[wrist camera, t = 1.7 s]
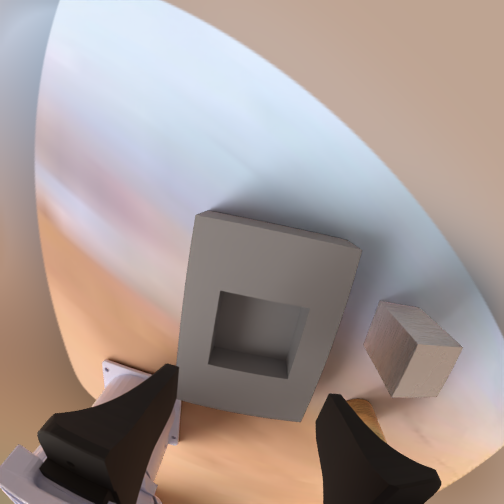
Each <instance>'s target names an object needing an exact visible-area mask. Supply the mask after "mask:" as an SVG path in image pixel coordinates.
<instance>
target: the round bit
mask: <svg viewBox="0 0 504 504" xmlns="http://www.w3.org/2000/svg"><path fill="white" fill-rule="evenodd" d="M346 402H347V403H348V404H349V405H350V406H351V408H352V409H353V410H354V411H355V412H356V414H357V415H358V416H359V417H360V418H361V419H362V421H363V422H364V423H365V424H366V425H367V426H368V427H369V428H370V429H371V430H372V431H373V432H374V433H375V434H376V435H377V436H378V437H379V438H380V439H382V440H383V441H384V442H385V443H387V442H386V440H385V437H384V435H383V432H382V430H381V427H380V425H379V422H378V420H377V417H376V415H375V413H374V410H373V408H372V405H371V404H370V402H368V401H367V400H364V399H351V400H347V401H346Z"/></svg>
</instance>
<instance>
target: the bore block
mask: <svg viewBox="0 0 504 504" xmlns="http://www.w3.org/2000/svg"><path fill="white" fill-rule="evenodd" d="M361 252H362V250H361V249H360V248H358V247H357V246H355V245H354V244H352V243H351V242H349V241H348V240H346V239H341V238H337V237H333V236H328V235H324V234H319V233H315V232H310V231H306V230H301V229H297V228H292V227H287V226H283V225H278V224H273V223H268V222H264V221H259V220H254V219H249V218H244V217H239V216H234V215H229V214H224V213H219V212H214V211H208V210H207V211H205V212H202V213H200V214H197V215H196V216H195V222H194V228H193V234H192V241H191V247H190V254H189V261H188V268H187V275H186V282H185V290H184V298H183V306H182V314H181V323H180V333H179V343H178V353H177V364H176V366H178V367H179V376H178V388H177V398H176V399H178V400H181V401H185V402H189V403H193V404H197V405H201V406H205V407H210V408H214V409H219V410H224V411H229V412H234V413H239V414H245V415H250V416H257V417H263V418H270V419H277V420H286V421H294V422H301V421H302V418H303V416H304V414H305V412H306V409H307V407H308V405H309V403H310V400H311V398H312V396H313V393H314V391H315V388H316V386H317V384H318V381H319V379H320V376H321V374H322V371H323V369H324V366H325V363H326V361H327V358H328V355H329V353H330V350H331V347H332V345H333V342H334V339H335V336H336V333H337V331H338V328H339V325H340V322H341V319H342V316H343V313H344V310H345V307H346V304H347V300H348V297H349V294H350V291H351V287H352V284H353V281H354V277H355V274H356V270H357V267H358V263H359V260H360V256H361Z"/></svg>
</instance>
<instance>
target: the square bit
mask: <svg viewBox="0 0 504 504" xmlns="http://www.w3.org/2000/svg"><path fill="white" fill-rule="evenodd" d="M363 345H364V347H365V349H366V351H367V353H368V354H369V356H370V358H371V360H372V362H373V364H374V365H375V367H376V369H377V371H378V373H379V375H380V377H381V378H382V380H383V382H384V384H385V386H386V388H387V390H388V392H389V394H390V395H391V397H392V398H413V397H437V396H438V394H439V392H440V390H441V389H442V387H443V385H444V383H445V382H446V380H447V378H448V376H449V374H450V372H451V370H452V369H453V367H454V365H455V363H456V361H457V359H458V357H459V355H460V353H461V350H462V348H463V347H462V346H461V345H460V344H459V343H458V342H457V341H456V340H454V339H453V338H452V337H451V336H450V335H449V334H448V333H447V332H446V331H445V330H444V329H443V328H441V327H440V326H439V325H438V324H437V323H436V322H435V321H434V320H433V319H432V318H430V317H429V316H428V315H427V314H426V313H425V312H424V311H423V310H421V309H420V308H419V307H414V306H408V305H402V304H396V303H390V302H385V301H379V303H378V306H377V309H376V312H375V315H374V317H373V320H372V323H371V326H370V328H369V331H368V334H367V336H366V339H365V341H364V344H363Z"/></svg>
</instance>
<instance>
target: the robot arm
mask: <svg viewBox="0 0 504 504" xmlns="http://www.w3.org/2000/svg"><path fill="white" fill-rule="evenodd" d="M102 366H103V376H104V385H105V389H104V391H103V392H102V393H101V395H100V396H99V397H98V399H97V400H96V401H95V403H94V404H93V405H92V407H91V408H87V409H83V410H79V411H73V412H65V413H55V414H54V415H53V416H51V417H50V418H49V420H48V421H47V422H46V423H45V424H44V425H43V427H42V428H41V429H40V430H39V431H38V435H37V436H38V439H39V442H40V445H39V446H38V448H37V449H36V450H35V451H34V452H33V453H32V452H30V451H29V450H27V449H25V448H24V447H23V446H21V445H19V444H18V445H17V446H16V448H15V449H14V450H13V451H12V452H11V454H10V455H9V456H8V457H7V459H6V460H5V461H4V462H3V464H2V465H1V466H0V488H1V489H2V490H3V491H4V492H5V493H6V494H7V496H8V497H9V498H10V499H11V500H12V501H13V502H14V504H162V502H161V500H160V499H159V498H158V497H157V496H155V492H156V489H157V486H158V485H157V484H155V483H154V482H153V481H154V480H155V477H156V475H157V472H158V469H159V467H160V464H161V461H162V459H163V456H164V453H165V451H166V448H167V445H168V444H171V445H178V442H179V428H180V414H181V402H182V401H181V400H178V399H176V398H177V388H178V376H179V367H178V366H174V365H171V364H165V365H164V366H163V367H161V368H160V369H159V370H158V371H157V372H155V373H154V374H153V375H151V374H148V373H145V372H142V371H139V370H136V369H133V368H130V367H127V366H124V365H121V364H118V363H115V362H113V361H110V360H107V359H106V360H104V361H103V362H102ZM107 368H108V369H107ZM316 441H317V447H318V452H319V458H320V463H321V469H322V476H323V504H424V503H425V502H426V501H427V500H428V499H429V498H431V497H432V496H433V495H434V494H435V493H436V492H437V491H438V490H439V488H440V486H441V480H440V478H439V476H438V474H437V472H436V470H435V469H432V468H429V467H427V466H424V465H422V464H419V463H417V462H415V461H413V460H411V459H409V458H408V457H406V456H404V455H402V454H401V453H399V452H398V451H396V450H395V449H393V448H392V447H390V446H389V445H388V444H387V443H385V442H384V441H383V440H382V439H380V438H379V437H378V436H377V435H376V434H375V433H374V432H373V431H372V430H371V429H370V428H369V427H368V426H367V425H366V424H365V423H364V422H363V421H362V419H361V418H360V417H359V416H358V415H357V414H356V412H355V411H354V410H353V409H352V408H351V406H350V405H349V404H348V403H347V402H346V400H345V399H344V398H343V397H342V396H341V394H329V395H328V397H327V399H326V401H325V403H324V405H323V408H322V410H321V412H320V414H319V416H318V418H317V420H316Z"/></svg>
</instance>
